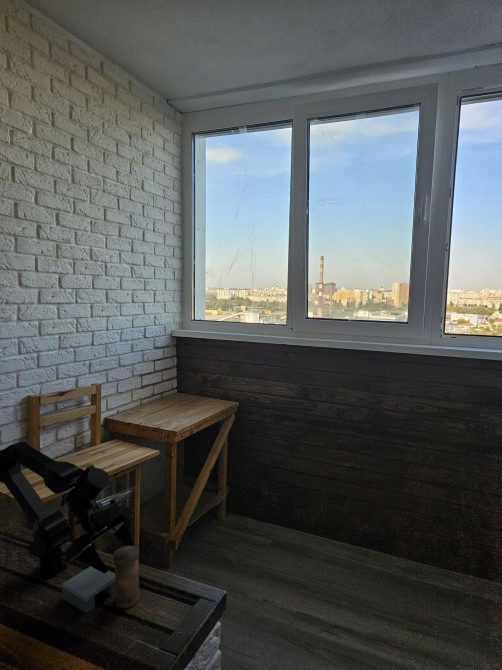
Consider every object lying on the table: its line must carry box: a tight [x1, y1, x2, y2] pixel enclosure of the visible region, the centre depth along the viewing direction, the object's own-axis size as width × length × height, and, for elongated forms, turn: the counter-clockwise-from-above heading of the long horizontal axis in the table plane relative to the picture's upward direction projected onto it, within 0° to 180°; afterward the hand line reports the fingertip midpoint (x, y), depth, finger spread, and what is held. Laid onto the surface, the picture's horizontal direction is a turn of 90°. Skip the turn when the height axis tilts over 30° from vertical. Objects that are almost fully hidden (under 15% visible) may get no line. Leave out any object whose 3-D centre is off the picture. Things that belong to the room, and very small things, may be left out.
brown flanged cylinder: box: [112, 545, 141, 609], centre depth 105 cm, size 6×6×12 cm
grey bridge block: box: [62, 566, 117, 614], centre depth 107 cm, size 9×9×4 cm
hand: (120, 561), depth 105 cm, fingers open, 9 cm apart
